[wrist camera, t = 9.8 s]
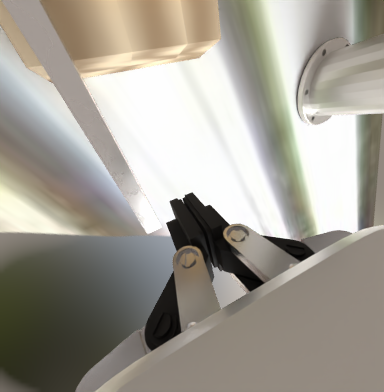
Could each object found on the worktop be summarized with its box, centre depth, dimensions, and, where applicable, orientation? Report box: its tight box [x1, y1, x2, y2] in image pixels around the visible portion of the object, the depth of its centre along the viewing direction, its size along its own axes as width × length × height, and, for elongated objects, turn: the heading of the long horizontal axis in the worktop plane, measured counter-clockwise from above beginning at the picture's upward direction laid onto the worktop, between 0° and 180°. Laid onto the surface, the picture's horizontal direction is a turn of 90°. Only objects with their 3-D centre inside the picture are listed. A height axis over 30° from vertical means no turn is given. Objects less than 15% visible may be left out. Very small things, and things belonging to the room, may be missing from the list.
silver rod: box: [1, 0, 161, 234], centre depth 12 cm, size 21×2×3 cm, turn 16°
